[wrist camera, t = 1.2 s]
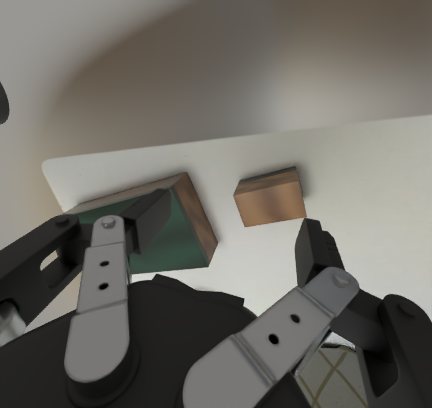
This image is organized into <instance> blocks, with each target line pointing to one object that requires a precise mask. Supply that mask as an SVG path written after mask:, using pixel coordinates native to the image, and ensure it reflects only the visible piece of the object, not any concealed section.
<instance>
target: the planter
mask: <svg viewBox="0 0 432 408" xmlns="http://www.w3.org/2000/svg"><path fill="white" fill-rule="evenodd" d="M296 381H297V382H298V384H299V386H300V388H301V389H302V391H303V393H304V395H305V396H306V398H307V400H308V402H309V403H310V405H311V407H312V408H368V403H367V399H366V394H365V390H364V385H363V381H362V376H361V372H360V367H359V363H358V358H357V354H356V352H354V351H352V350H351V349H349V348H347V347H345V346H340V347H338V348H335V349H334V348H319V349H318V351H317V352H316V353H315V354H314V355H313V357H312V358H311V359H310V361H309V362H308V363H307V365H306V366H305V368H304V369H303V370H302V372H301V373H300V374H299V376H298V377H297V378H296Z"/></svg>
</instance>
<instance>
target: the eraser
mask: <svg viewBox="0 0 432 408" xmlns="http://www.w3.org/2000/svg"><path fill="white" fill-rule="evenodd" d="M233 196H234V199H235V202H236V205H237V207H238V210H239V213H240V216H241V218H242V221H243V224H244V227H249V226H255V225H261V224H268V223H274V222H280V221H286V220H292V219H298V218H304V217H307V216H306V210H305V205H304V200H303V195H302V191H301V187H300V182H299V178H298V173H297V169H296V167H293V168H289V169H285V170H281V171H277V172H273V173H269V174H265V175H261V176H257V177H253V178H249V179H245V180H241V181H239V184H238V186H237V188H236V190H235V193H234V195H233Z"/></svg>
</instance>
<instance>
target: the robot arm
mask: <svg viewBox="0 0 432 408" xmlns="http://www.w3.org/2000/svg"><path fill="white" fill-rule="evenodd" d="M170 217H171V192H170V190H166V189H161V188H157V189H155V190H154V191H153V192H152V193H151V194H147V195H144V196H142V197H140V198H139V199H137V200H136V202H134V203H132V204H131V205H130V206H129V207H127V208H126V209H125V210H124V211H122V212H121V213H120V214H119V215H117V216H116V215H109V216H104V217H101V218H99V219H98V220H96V221H95V222H94V224H93V223H80V221H79V217H78V216H76V215H74V214H63V215H59V216H56V217H53V218H51V219H50V220H48V221H46V222H45V223H43V224H42V225H40V226H39V227H37V228H35V229H34V230H32V231H31V232H29V233H27V234H26V235H25V236H23V237H21V238H19V239H18V240H16V241H15V242H13V243H11V244H10V245H8V246H7V247H5V248H4V249H2V250H0V408H312V407H311V405H310V403H309V402H308V400H307V398H306V396H305V395H304V393H303V391H302V389H301V388H300V386H299V384H298V382H297V381H296V378H297V377H298V376H299V374H300V373H301V372H302V370H303V369H304V368H305V366H306V365H307V363H308V362H309V361H310V359H311V358H312V357H313V355H314V354H315V353H316V352H317V351H318V349H319V348H320V347H321V346H322V344H323V343H324V342H325V341H326V340H327V338H328V337H329V336H330V335H331V333H332V332H334V333H336V334H338V335H339V336H341V337H343V338H344V339H346V340H348V341H350V342H351V343H353V344H354V345H355V349H356V354H357V358H358V363H359V367H360V372H361V376H362V381H363V385H364V390H365V394H366V399H367V403H368V408H432V322H431V320H430V319H429V317H428V315H427V314H426V313H425V312H424V311H423V310H422V309H421V308H420V307H419V306H418V305H417V304H415V303H414V302H412V301H411V300H409V299H407V298H405V297H402V296H399V295H395V294H389V295H386V296H385V297H384V299H383V300H382V299H380V298H378V297H376V296H373V295H371V294H369V293H367V292H365V291H363V290H362V289H360V287H359V283H358V282H357V280H356V279H355V278H354V277H353V276H352V275H351V274H349V273H348V272H346V271H345V269H344V266H343V263H342V260H341V257H340V254H339V252H338V248H337V247H336V243H335V240H334V238H333V237H332V236H331V234H330V233H329V232H327V231H322V228H321V224H320V221H318V220H313V219H308V218H304V220H303V222H302V225H301V228H300V231H299V234H298V237H297V239H296V243H295V260H296V272H297V284H298V286H296V287H295V288H293V289H292V290H291V291H290V292H288V293H287V294H286V295H285V296H283V297H282V298H281V299H280V300H278V301H277V302H276V303H275V304H274V305H272V306H271V307H270V308H269V309H267V310H266V311H265V312H264V313H262V314H261V315H260V316H259V317H257V316H256V315H255V314H254V313H253V312H252V311H250V310H249V309H247V308H246V307H244V306H243V304H244V298H241V297H237V296H234V295H230V294H227V293H223V292H211V291H197V290H194V289H193V288H191V287H189V286H187V285H186V284H184V283H182V282H180V281H179V280H177V279H174V278H170V277H166V276H163V275H159V274H156V275H155V276H154V278H153V279H152V280H144V281H138V282H134V283H132V275H131V264H130V255H131V254H132V253H134V254H138V255H141V254H142V252H143V251H144V250H145V249H146V248H147V246H148V245H149V244H150V243H151V242H152V240H153V239H154V238H155V237H156V236H157V234H158V233H159V232H160V231H161V230H162V228H163V227H164V226H165V225H166V224H167V222H168V221H169V219H170ZM55 250H56V252H57V255H58V257H57V258H56V259H55V260H54V261H52V262H51V263H50V264H49V265H48V266H46V267H45V268H44V269H43V270H42V271H41V270H40V265H41V263H42V261H43V260H44V259H45V258H46V257H47V256H49V255H50V254H51V253H52V252H54V251H55ZM81 271H82V276H81V282H80V289H79V296H78V302H77V308H76V309H75V310H73V311H71V312H69V313H67V314H65V315H63V316H61V317H59V318H57V319H54V320H52V321H50V322H48V323H46V324H44V325H42V326H40V327H38V328H35V329H33V330H31V331H29V332H27V333H25V334H24V332H25V329H26V327H27V326H28V325H29V324H30V323H31V322H32V321H33V320H34V319H35V318H36V317H37V316H38V315H39V313H41V312H42V311H43V310H44V308H46V306H47V305H48V304H49V303H50V302H51V301H52V300H53V299H54V298H55V297H56V296H57V295H58V294H59V293H60V292H61V291H62V290H63V289H64V288H65V287H66V286H67V285H68V284H69V283H70V282H71V281H72V280H73V279H74V278H75V277H76V276H77V275H78V274H79V273H80V272H81Z"/></svg>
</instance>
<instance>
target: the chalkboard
mask: <svg viewBox="0 0 432 408" xmlns="http://www.w3.org/2000/svg"><path fill="white" fill-rule="evenodd" d="M157 188H161V189H166V190H170V192H171V217H170V219H169V221H168V222H167V224H166V225H165V226H164V227H163V228H162V230H161V231H160V232H159V233H158V234H157V236H156V237H155V238H154V239H153V240H152V242H151V243H150V244H149V245H148V246H147V248H146V249H145V250H144V251H143V252H142V254H141V255H138V254H134V253H132V254H131V255H130V264H131V274H140V273H151V272H162V271H172V270H183V269H193V268H204V267H209V264H210V262H211V259H212V257H213V254H214V252H215V249H216V247H217V244H218V242H217V240H216V238H215V236H214V233H213V231H212V229H211V226H210V224H209V222H208V219H207V217H206V215H205V213H204V210H203V208H202V206H201V203H200V201H199V199H198V196H197V194H196V192H195V190H194V187H193V185H192V183H191V180H190V178H189V176H188V173H187V172H186V173H183V174H179V175H176V176H173V177H169V178H166V179H163V180H159V181H156V182H153V183H149V184H146V185H143V186H139V187H136V188H133V189H129V190H126V191H123V192H119V193H116V194H113V195H109V196H106V197H103V198H99V199H96V200H93V201H89V202H86V203H83V204H79V205H77V206H75V207H74V208H72V209H70V210H68V211H67V212H65V213H63V214H74V215H76V216H78V217H79V221H80V223H93V224H94V222H95V221H96V220H98V219H99V218H101V217H104V216H109V215H116V216H117V215H119V214H120V213H121V212H122V211H124V210H125V209H126V208H127V207H129V206H130V205H131V204H132V203H134V202H136V200H137V199H139V198H140V197H142V196H144V195H147V194H151V193H152V192H153V191H154V190H155V189H157ZM63 214H62V215H63Z"/></svg>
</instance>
